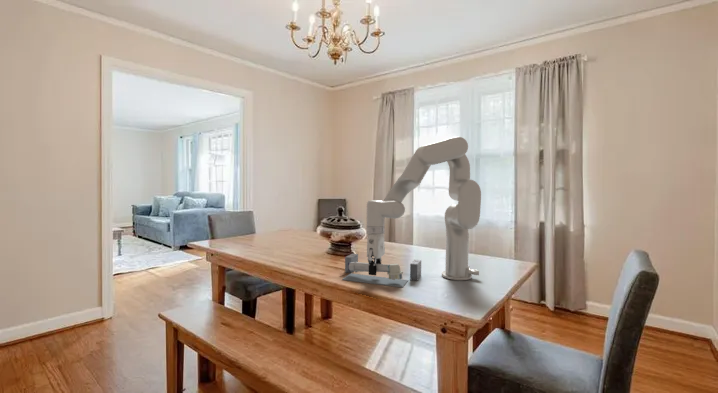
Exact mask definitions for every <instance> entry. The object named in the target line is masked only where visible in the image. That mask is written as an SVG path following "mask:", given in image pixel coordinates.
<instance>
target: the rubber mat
mask: <svg viewBox="0 0 718 393" xmlns="http://www.w3.org/2000/svg"><path fill="white" fill-rule="evenodd" d="M341 280H342V281H348V282H349V281H350V282H355V283H365V284H372V285H379V286H387V287H395V288H396V287H397V288H404V286H405V285H406V284H407V283H409V280H408V279H403V278H402V279H399V280H398V279H395V280H391V279H389V277H385V276H377V275H369V274H360V273H353V272H352V273H348V275H346V276H344V277H343V278H342V279H341Z"/></svg>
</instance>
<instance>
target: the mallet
mask: <svg viewBox="0 0 718 393" xmlns="http://www.w3.org/2000/svg"><path fill="white" fill-rule="evenodd" d="M376 266H377V268H376V273H386V274H387V275H388V278H389V279H391V280H395V279H398V280H399V279H403V273H404V271H403V270H401V267H400V266H401V265H400V264H399V263H390V264H385V263H381V264H376ZM347 267H348V270H349V271H354V272H355V273H358V272H361V273H363V272H368V273H369V262H360V261H359V260H358V261H356V262H350V263H348V266H347Z"/></svg>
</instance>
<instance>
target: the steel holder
mask: <svg viewBox="0 0 718 393" xmlns="http://www.w3.org/2000/svg"><path fill="white" fill-rule="evenodd" d="M356 261H358V262H359V254H358V253H351V254H349V255H346V256H345V257H344V273H345V274H351V273H352V274H353V273H354V272H355V271H349V270H348V267H347V266H348V263H350V262H356ZM409 268H410V269H409V280H410V281H412V282H413V281H414V282H418V280H420V278H421V277H422V259H413V261H412V262H410V264H409Z"/></svg>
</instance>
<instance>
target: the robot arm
mask: <svg viewBox="0 0 718 393" xmlns="http://www.w3.org/2000/svg"><path fill="white" fill-rule="evenodd" d="M468 148H469V142H468V141H467V140H466V138H464V137H462V136H453V137H449V138H445V139H443V140H440V141H437V142H432V143H428V144H424V145H421V146H419V147H418V148H417V149H415V151H414V153H413V155H412V157H411V158H410V160H409V162H407V165H406V167H405V169H404V170H403V172H402V173H401V175H400V176H399V177H398V179H397V180H396V181H395V183H393V185H392V186H391V188H390V190H388V193H387V194H386V196H385V197H384V200H380V199H379V200H378V199H377V200H376V199H373V200H368V201H367V202H366V229H365V230H366V234H367V239H366V240H367V241H366V257H367V263H369V272H368V275H369V276H377V272H376V268H377V266H376V264H382V260H383V259H382V257H383V256H385V254H386V252H385V248H386V247H385V245H386V244H385V231H386V230H385V226H386V225H385V224H386V223H385V218H387V219H399V218H402V217H403V215H404V214H405V212H406V207H405V205H404V204H403V200H404V199H405V198H406V197H407V195H408V194H409V193H410V192H412V191H413V190H415V189H416V188H418V186H420V184H421V183H422V182H423V179H424V177H425V176H426V174H427V172H428V171H429V169H430V167H431V166H434V165H437V164H442V163H445V162H446V163H447V165H448V167H449V179H448V181H449V182H448V196H449V197H450V198H451V200H453V201H456V202H457V203H455V204H451V205H449V206H448V207H447V208H446V209H445V212H444V223H445V235H446V236H445V268H444V269H445V270H443V271H441V276H442V277H443V278H445V279H447V280H451V281H468V280H471V279H472V277H473V276H472V275H474V276H480V271H479V270H477V269H471V268H470V266H469V249H470V248H469V244H470V234H469V230H472V229H474V228H475V227H476V226H477V225H478V223H479V222H480V219H481V206H482V204H481V203H482V190H481V187H480V184H478V182H477V181H475V180H474V179H471V164H470V160H469V158H468V157H467V155H466V154H467V152H468Z"/></svg>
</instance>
